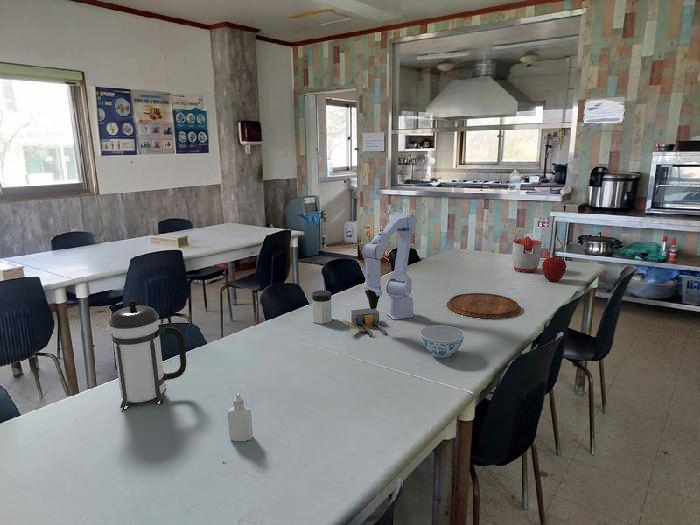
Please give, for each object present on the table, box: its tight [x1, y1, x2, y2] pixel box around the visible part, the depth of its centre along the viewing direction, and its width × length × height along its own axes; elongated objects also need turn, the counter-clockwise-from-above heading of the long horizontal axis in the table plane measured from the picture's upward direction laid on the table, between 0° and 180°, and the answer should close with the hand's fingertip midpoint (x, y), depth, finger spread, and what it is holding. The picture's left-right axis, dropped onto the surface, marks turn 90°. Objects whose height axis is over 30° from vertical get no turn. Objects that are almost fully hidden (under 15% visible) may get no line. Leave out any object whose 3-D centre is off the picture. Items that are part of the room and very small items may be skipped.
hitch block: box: [350, 307, 387, 338], centre depth 194 cm, size 10×18×5 cm, turn 17°
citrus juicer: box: [511, 235, 543, 273], centre depth 276 cm, size 16×17×20 cm
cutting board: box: [446, 292, 522, 320], centre depth 216 cm, size 32×32×2 cm
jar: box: [311, 289, 333, 325], centre depth 202 cm, size 9×8×12 cm
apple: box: [541, 256, 567, 282], centre depth 255 cm, size 12×12×13 cm
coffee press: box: [104, 299, 187, 410], centre depth 139 cm, size 17×16×30 cm
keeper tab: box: [342, 319, 367, 334], centre depth 189 cm, size 9×4×1 cm, turn 108°
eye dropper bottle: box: [227, 393, 254, 442], centre depth 120 cm, size 4×6×12 cm
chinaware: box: [420, 324, 466, 358], centre depth 168 cm, size 15×15×8 cm
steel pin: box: [363, 314, 374, 328], centre depth 200 cm, size 3×12×5 cm, turn 17°
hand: (373, 308), depth 188 cm, fingers closed
